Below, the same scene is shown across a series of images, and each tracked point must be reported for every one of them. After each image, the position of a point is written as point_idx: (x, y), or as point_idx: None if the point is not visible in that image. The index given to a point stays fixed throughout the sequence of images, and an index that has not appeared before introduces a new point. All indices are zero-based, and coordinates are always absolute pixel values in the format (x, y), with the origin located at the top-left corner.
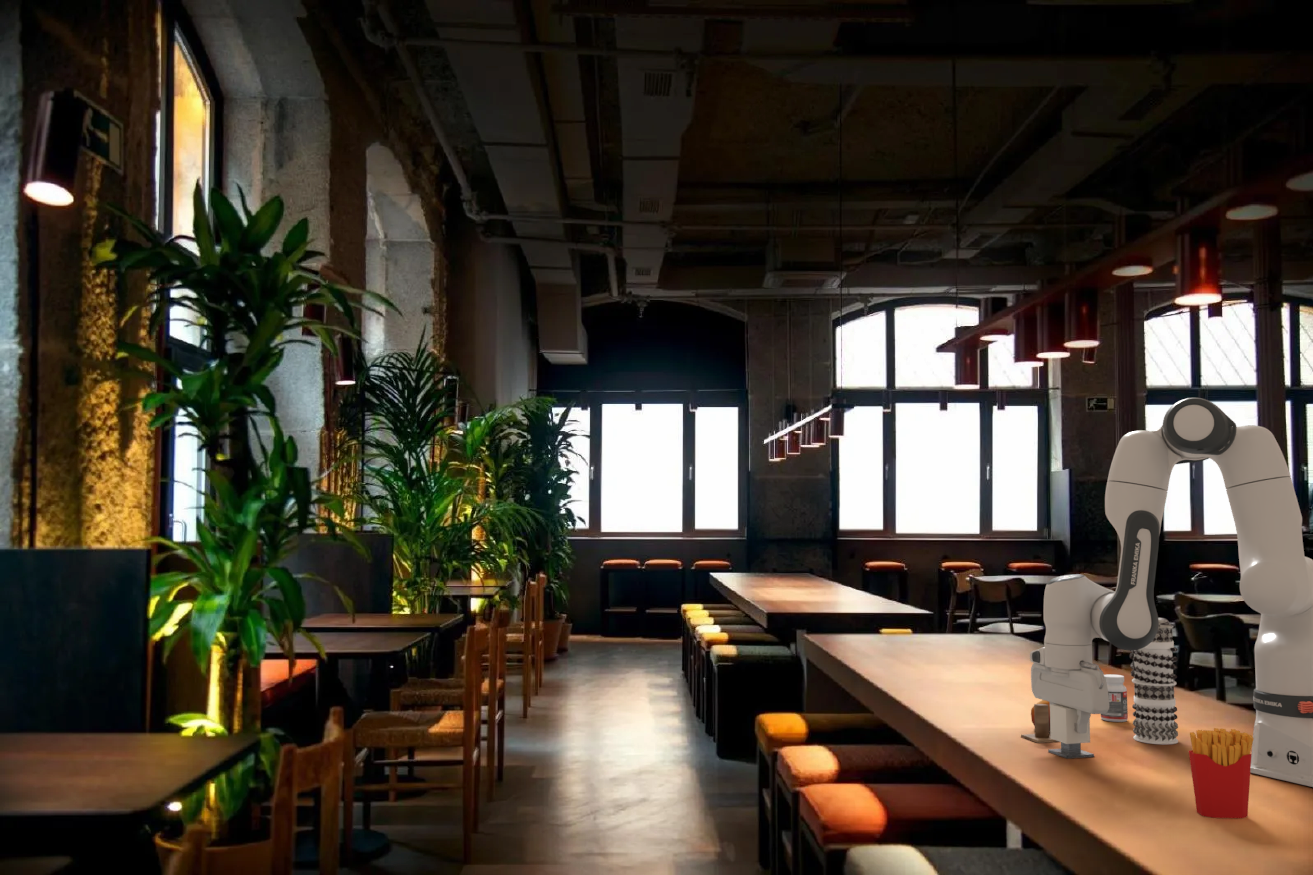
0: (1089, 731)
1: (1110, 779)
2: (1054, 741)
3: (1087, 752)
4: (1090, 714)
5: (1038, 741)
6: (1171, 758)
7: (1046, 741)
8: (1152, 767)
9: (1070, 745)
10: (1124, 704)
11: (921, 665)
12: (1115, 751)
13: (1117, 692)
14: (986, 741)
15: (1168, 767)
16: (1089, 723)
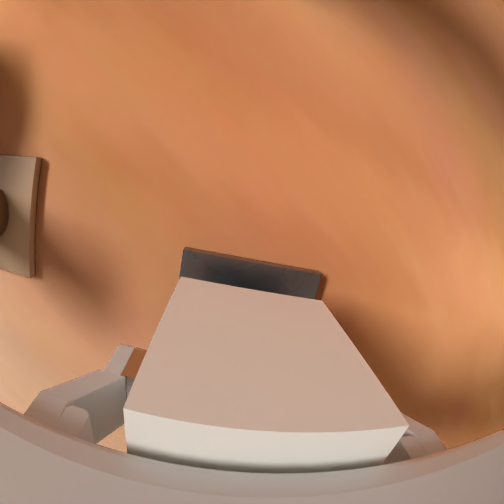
0: (339, 328)
1: (463, 398)
2: (36, 201)
3: (285, 275)
4: (436, 436)
5: (32, 274)
6: (441, 50)
7: (32, 238)
8: (487, 217)
9: None
10: None
11: None
12: (283, 96)
13: None
14: (8, 382)
15: (501, 176)
16: (358, 352)
